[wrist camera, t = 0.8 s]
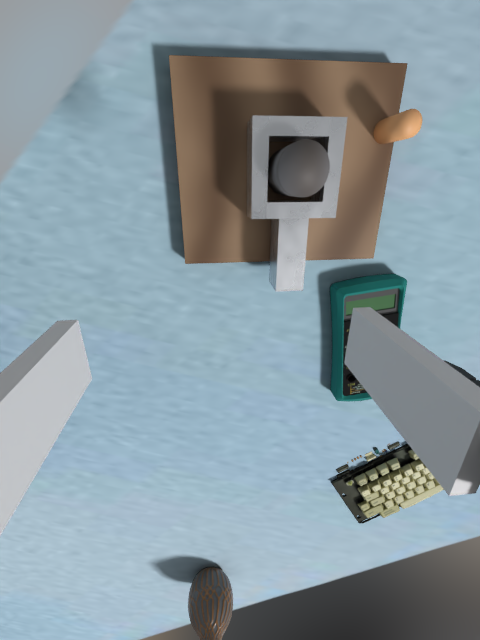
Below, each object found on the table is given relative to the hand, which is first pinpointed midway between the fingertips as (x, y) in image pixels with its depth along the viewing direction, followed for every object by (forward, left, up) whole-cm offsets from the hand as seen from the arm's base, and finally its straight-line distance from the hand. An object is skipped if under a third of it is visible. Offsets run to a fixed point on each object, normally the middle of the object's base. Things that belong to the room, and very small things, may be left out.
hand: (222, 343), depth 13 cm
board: (+6, +7, -18) cm, 20 cm away
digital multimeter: (+17, -10, -19) cm, 27 cm away
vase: (-3, -53, -18) cm, 56 cm away
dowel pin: (+14, +10, -16) cm, 24 cm away
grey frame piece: (+6, +4, -16) cm, 18 cm away
